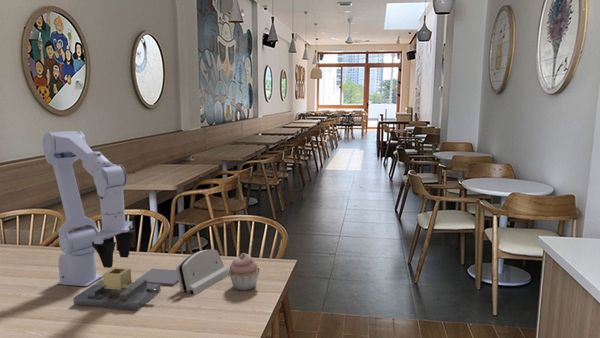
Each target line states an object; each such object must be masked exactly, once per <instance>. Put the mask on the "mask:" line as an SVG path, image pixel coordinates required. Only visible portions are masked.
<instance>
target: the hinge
mask: <svg viewBox="0 0 600 338" xmlns="http://www.w3.org/2000/svg"><path fill="white" fill-rule="evenodd" d="M228 269H229V268H227V267H226V266H225V265H224V263H223V260H222V258H221V256H220V254H219V251H218V250H217V249H205V250H200V251H196V252H194V253H192V254H190V255H189V256H187V257H186V258H184V259H183V260H182V261H180V263H178V265H177V266H176V268H175V270H176V271H177V275H178V280H179V282H178V284H179V290H180V292H181V293H184V292H188V291H190V292H191V291H192V292H193V295H196V296H197V295H198V294H199V293H201V292H203V291H205V290H206V289H208V288H209V287H212V286H213V285H215V284H217V283H218V282H219V281H222V280H223V279H225V278H226V277H228V276H229V274H228V273H227V272H228V271H229V270H228Z"/></svg>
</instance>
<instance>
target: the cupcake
mask: <svg viewBox="0 0 600 338" xmlns="http://www.w3.org/2000/svg"><path fill="white" fill-rule="evenodd" d="M227 269H228V272H227V273H228V274H229V275H228V276H229V277H230V280H231V284H232V287H233V288H234V290H238V291H249V290H252V289H255V287H256V285H257V281H258V276H259V274H260V272H261V271H260V270H261V268H260V267H258V263H257V261H256V260H255V259H253V258H252V256H251V255H250V254H248V253H244V252H242V253H241V254H240V255H239V256H237V257H234V259H233V261H232V262H231V264H230V265H229V268H227Z"/></svg>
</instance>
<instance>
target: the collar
mask: <svg viewBox="0 0 600 338" xmlns="http://www.w3.org/2000/svg"><path fill="white" fill-rule="evenodd" d="M131 270H132V269H131V268H129V267H114V266H112V267H111V269H110V268H109V269H108V270H107V271H106V272H103V276H102V280H103V284H104V289H115V290H122V289H123V288H125V287H126V286H127V285H129V284H130V283H131V282H133V281H132V271H131ZM117 273H119V274H117Z"/></svg>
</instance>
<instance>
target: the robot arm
mask: <svg viewBox="0 0 600 338" xmlns="http://www.w3.org/2000/svg"><path fill="white" fill-rule="evenodd" d="M86 141H87V140H86V136H85V134H84V133H83V132H82V131H81V130H77V129H76V130H69V131H55V132H53V131H52V132H50V131H47V132H45V133H44V134H43V137H42V143H41V144H42V149H43V153H44V156H45V160H46V163H48V164H49V165H52V168H53V172H54V175H55V179H56V184H57V188H58V191H59V195H60V200H61V204H62V207H63V212H64V215H65V220H66V221H64V222H63V224H61V226H59V229H58V231H57V232H58V244H59V247H60V250H61V251H62V253H60V254H59V257H58V264H57V265H58V275H59V276H58V277H59V281H58V282H57V284H58V285H63V286H64V285H65V286H66V285H67V286H80V287H88V286H89V285H92V284H94V282H96V281H98V280H99V279H100V278H103V274H104V273H103V274H101V273H97V262H96V253H97V254H98V256H99V260H100V261H101V264H102V267H103V268H104V269H105V268H106V269H107V268H108V269H110V268H111V269H112V268H113V264H114V263H113V262H114V251H115V246H116V244H117V249H118V255H119V257H120V258H126V259H127V258H129V256H130V251H131V245H132V242H133V239H134V237H135V235H136V229H134V228H133V221H132V220H126V214H125V213H126V211H125V200H124V199H125V198H124V187H125V186H126V185H127V182H128V174H127V170H126V168H125V167H124V166H123V165H122V164H116V163H115V164H114V163H112V162H111V161H110V160H109V159H108V158H106V156H104V155H103V154H102V152H101V151H93V150H92V149H91V147H90V146H89V145H88V144H87V142H86ZM78 160H81V162H82V163H81V164H82V167H83V169H84V170H85V171H86V172H87V173H88V174H90V176H92V178H93V183H94V185H95V188H96V192H97V193H96V194H97V196H98V197H99V205H100V219H101V228H100V230H99V228H98V226H97V224H96V221H95V220H93V219H91V218H89V217H88V216H86V215H85V210H84V205H83V203H82V199H81V195H80V190H79V187H78V183H77V179H76V176H75V174H76V173H75V171H74V170H75V169H74V166H73V165H74V163H75V162H77V161H78ZM113 237H115V240H116V241H111V240H110V239H111V238H113Z"/></svg>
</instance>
